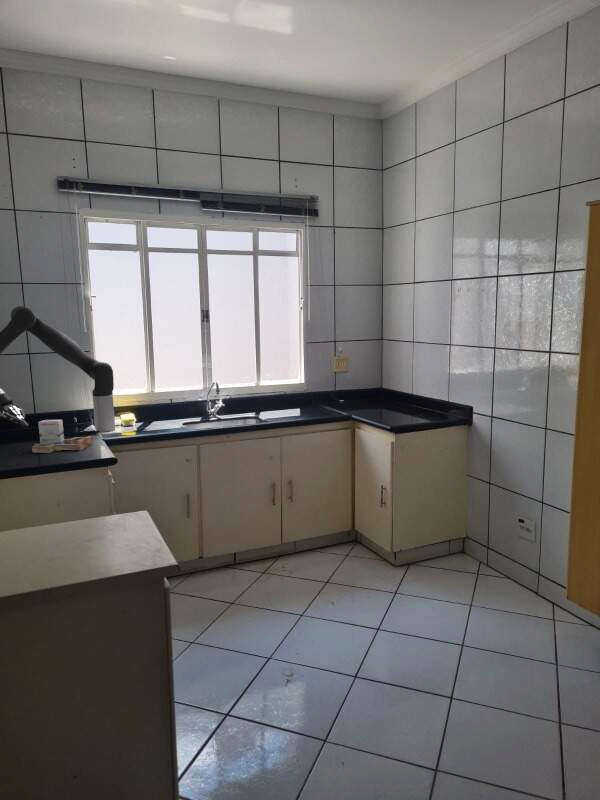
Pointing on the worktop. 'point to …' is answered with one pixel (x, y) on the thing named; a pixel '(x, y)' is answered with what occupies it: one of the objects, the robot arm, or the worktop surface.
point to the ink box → (51, 432)
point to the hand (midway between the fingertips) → (26, 427)
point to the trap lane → (64, 445)
